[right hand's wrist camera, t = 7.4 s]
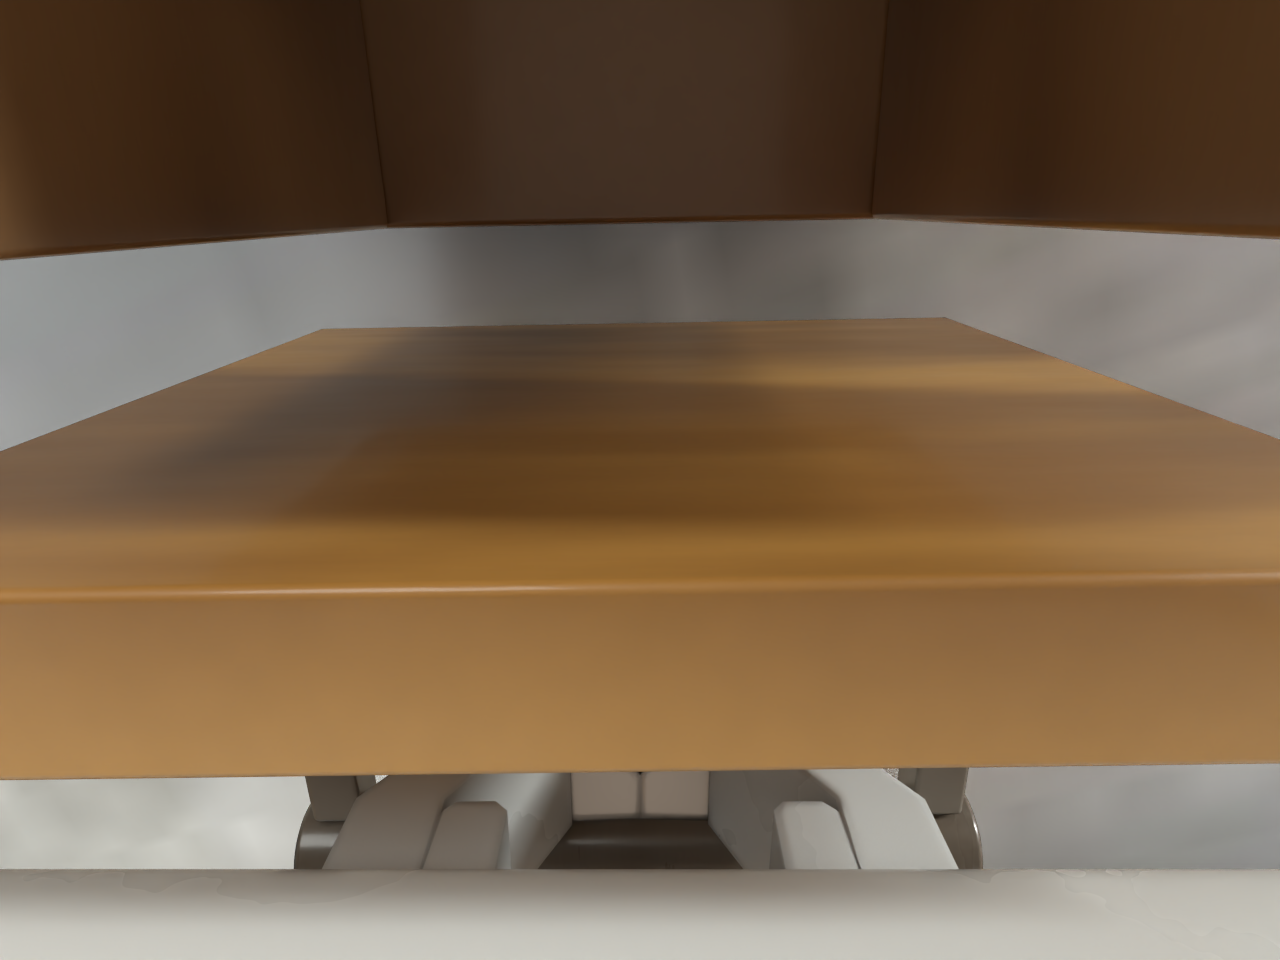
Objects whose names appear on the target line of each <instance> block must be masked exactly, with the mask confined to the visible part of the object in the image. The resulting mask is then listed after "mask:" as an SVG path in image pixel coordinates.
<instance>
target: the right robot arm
mask: <svg viewBox="0 0 1280 960" xmlns="http://www.w3.org/2000/svg"><path fill="white" fill-rule="evenodd" d="M640 817H641V819H655V820H691V821H708V825H709V826H710V827H711V828H712V830H713V831H714V832H715V834H716V835H717V836H718V837H719V839H720V840H721V841H722V842H723V844H724V845H725V846H726V848H727V849H728V850H729V851H730V853H731V854H732V855H733V857H734V858H735V859H736V860H737V862H738V863H739V864H740V865H741V867H742V868H743V869H538V868H539V866H540V865H541V864H542V863H543V861H544V860H545V859H546V858H547V856H548V855H549V854H550V852H551V851H552V850H553V849H554V847H555V846H556V845H557V844H558V842H559V841H560V840H561V838H562V837H563V836H564V835H565V833H566V832H567V831H568V830H569V828H570V827H571V826H572V821H589V820H623V819H640ZM0 960H1280V869H958V867H957V865H956V863H955V860H954V858H953V856H952V854H951V852H950V850H949V848H948V846H947V844H946V842H945V840H944V838H943V835H942V833H941V831H940V829H939V827H938V825H937V823H936V821H935V819H934V817H933V815H932V813H931V811H930V808H929V806H928V804H927V802H926V800H925V799H924V798H923V797H921V796H920V795H918V794H917V793H916V792H914V791H913V790H911V789H910V788H909V787H907V786H906V785H904V784H903V783H902V782H900V781H899V780H897V779H896V778H895V777H893V776H892V775H890V774H889V773H888V772H886V771H885V770H883V769H809V770H733V771H657V772H580V773H504V774H428V775H388V776H387V777H385V778H384V779H383V780H381V781H380V782H378V783H377V784H375V785H374V786H373V787H371V788H370V789H368V790H367V791H366V792H364V793H363V794H361V795H360V796H359V797H357V798H356V800H355V802H354V804H353V806H352V808H351V810H350V812H349V814H348V816H347V818H346V820H345V822H344V824H343V826H342V828H341V831H340V833H339V835H338V837H337V839H336V841H335V843H334V845H333V847H332V849H331V851H330V853H329V855H328V857H327V859H326V861H325V863H324V865H323V867H322V869H0Z"/></svg>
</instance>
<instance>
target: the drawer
mask: <svg viewBox="0 0 1280 960" xmlns="http://www.w3.org/2000/svg"><path fill="white" fill-rule="evenodd" d="M841 219H886V220H906V221H926V222H945V223H965V224H985V225H1005V226H1024V227H1044V228H1064V229H1083V230H1103V231H1123V232H1143V233H1162V234H1182V235H1202V236H1222V237H1241V238H1261V239H1280V0H0V261H2V260H14V259H26V258H38V257H50V256H62V255H74V254H86V253H98V252H110V251H122V250H134V249H146V248H158V247H170V246H182V245H194V244H206V243H218V242H230V241H242V240H254V239H266V238H278V237H290V236H302V235H314V234H326V233H338V232H350V231H362V230H374V229H384V228H431V227H482V226H533V225H585V224H636V223H687V222H738V221H790V220H841ZM1267 763H1280V440H1279V439H1277V438H1274V437H1271V436H1269V435H1266V434H1263V433H1260V432H1258V431H1255V430H1252V429H1249V428H1247V427H1244V426H1241V425H1238V424H1236V423H1233V422H1230V421H1227V420H1225V419H1222V418H1219V417H1216V416H1214V415H1211V414H1208V413H1205V412H1203V411H1200V410H1197V409H1194V408H1192V407H1189V406H1186V405H1183V404H1181V403H1178V402H1175V401H1172V400H1170V399H1167V398H1164V397H1162V396H1159V395H1156V394H1153V393H1151V392H1148V391H1145V390H1142V389H1140V388H1137V387H1134V386H1131V385H1129V384H1126V383H1123V382H1120V381H1118V380H1115V379H1112V378H1109V377H1107V376H1104V375H1101V374H1098V373H1096V372H1093V371H1090V370H1087V369H1085V368H1082V367H1079V366H1076V365H1074V364H1071V363H1068V362H1066V361H1063V360H1060V359H1057V358H1055V357H1052V356H1049V355H1046V354H1044V353H1041V352H1038V351H1035V350H1033V349H1030V348H1027V347H1024V346H1022V345H1019V344H1016V343H1013V342H1011V341H1008V340H1005V339H1002V338H1000V337H997V336H994V335H991V334H989V333H986V332H983V331H980V330H978V329H975V328H972V327H969V326H967V325H964V324H961V323H959V322H956V321H953V320H950V319H948V318H894V319H839V320H785V321H730V322H676V323H621V324H567V325H512V326H458V327H404V328H349V329H321V330H318V331H315V332H313V333H310V334H308V335H305V336H302V337H300V338H297V339H294V340H292V341H289V342H287V343H284V344H281V345H279V346H276V347H273V348H271V349H268V350H266V351H263V352H260V353H258V354H255V355H252V356H250V357H247V358H245V359H242V360H239V361H237V362H234V363H231V364H229V365H226V366H224V367H221V368H218V369H216V370H213V371H210V372H208V373H205V374H203V375H200V376H197V377H195V378H192V379H189V380H187V381H184V382H182V383H179V384H176V385H174V386H171V387H168V388H166V389H163V390H161V391H158V392H155V393H153V394H150V395H147V396H145V397H142V398H140V399H137V400H134V401H132V402H129V403H126V404H124V405H121V406H119V407H116V408H113V409H111V410H108V411H105V412H103V413H100V414H98V415H95V416H92V417H90V418H87V419H84V420H82V421H79V422H77V423H74V424H71V425H69V426H66V427H63V428H61V429H58V430H56V431H53V432H50V433H48V434H45V435H42V436H40V437H37V438H35V439H32V440H29V441H27V442H24V443H21V444H19V445H16V446H14V447H11V448H8V449H6V450H3V451H0V780H47V779H123V778H199V777H275V776H305V778H306V783H307V788H308V792H309V797H310V802H311V804H310V806H309V807H308V809H307V811H306V814H305V816H304V818H303V821H302V824H301V827H300V830H299V834H298V838H297V843H296V849H295V858H294V869H322V867H323V865H324V863H325V861H326V859H327V857H328V855H329V853H330V851H331V849H332V847H333V845H334V843H335V841H336V839H337V837H338V835H339V833H340V831H341V828H342V826H343V824H344V822H345V820H346V818H347V816H348V814H349V812H350V810H351V808H352V806H353V804H354V802H355V800H356V798H357V797H359V796H360V795H361V794H363V793H364V792H366V791H367V790H368V789H370V788H371V787H373V786H374V785H375V784H376V779H375V775H428V774H504V773H580V772H657V771H733V770H809V769H885V768H899V772H898V780H899V781H900V782H902V783H903V784H904V785H906V786H907V787H909V788H910V789H911V790H913V791H914V792H916V793H917V794H918V795H920V796H921V797H923V798H924V799H925V800H926V802H927V804H928V806H929V808H930V811H931V813H932V815H933V817H934V819H935V821H936V823H937V825H938V827H939V829H940V831H941V833H942V835H943V838H944V840H945V842H946V844H947V846H948V848H949V850H950V852H951V854H952V856H953V858H954V860H955V863H956V865H957V867H958V869H983V856H982V846H981V839H980V834H979V830H978V826H977V822H976V819H975V816H974V813H973V810H972V808H971V806H970V803H969V801H968V799H967V798H966V796H965V794H964V793H965V787H966V781H967V775H968V769H969V767H1038V766H1114V765H1190V764H1267ZM538 869H743V868H742V867H741V865H740V864H739V863H738V862H737V860H736V859H735V858H734V857H733V855H732V854H731V853H730V851H729V850H728V849H727V848H726V846H725V845H724V844H723V842H722V841H721V840H720V839H719V837H718V836H717V835H716V834H715V832H714V831H713V830H712V828H711V827H710V826H709V825H708V821H691V820H655V819H641V817H640V819H623V820H589V821H572V826H571V827H570V828H569V830H568V831H567V832H566V833H565V835H564V836H563V837H562V838H561V840H560V841H559V842H558V844H557V845H556V846H555V847H554V849H553V850H552V851H551V852H550V854H549V855H548V856H547V858H546V859H545V860H544V861H543V863H542V864H541V865H540V866H539V868H538Z"/></svg>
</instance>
